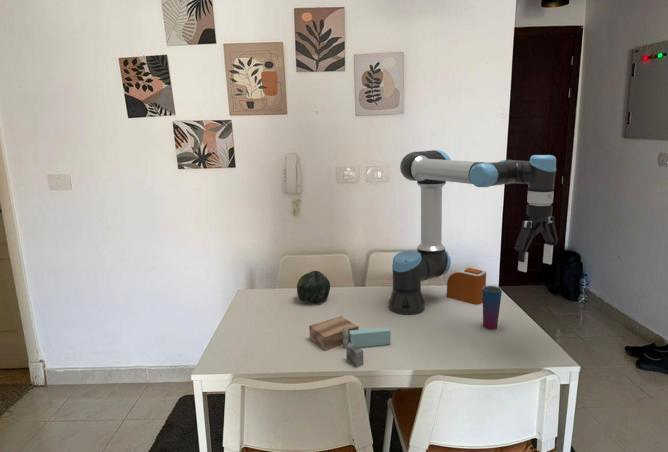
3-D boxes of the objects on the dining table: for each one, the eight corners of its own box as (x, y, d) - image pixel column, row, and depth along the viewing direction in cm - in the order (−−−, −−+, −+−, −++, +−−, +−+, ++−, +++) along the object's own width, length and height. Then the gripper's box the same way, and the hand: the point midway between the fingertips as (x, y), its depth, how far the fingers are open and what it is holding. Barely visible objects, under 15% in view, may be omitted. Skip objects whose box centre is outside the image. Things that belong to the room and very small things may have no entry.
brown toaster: (486, 299, 189) (488, 269, 186) (478, 305, 183) (479, 274, 180) (455, 291, 199) (456, 263, 196) (446, 297, 193) (447, 268, 190)
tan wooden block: (309, 338, 158) (309, 320, 156) (341, 328, 165) (341, 311, 164) (350, 369, 136) (350, 349, 135) (385, 356, 144) (385, 336, 142)
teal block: (351, 347, 150) (350, 334, 148) (349, 343, 152) (349, 330, 151) (390, 344, 151) (390, 330, 150) (388, 340, 154) (388, 327, 153)
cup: (501, 331, 159) (503, 292, 156) (481, 329, 160) (483, 291, 157) (498, 323, 166) (500, 286, 162) (479, 322, 167) (481, 285, 164)
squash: (296, 282, 202) (296, 265, 190) (328, 281, 203) (330, 264, 191) (297, 310, 193) (297, 294, 181) (330, 309, 195) (333, 293, 183)
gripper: (526, 210, 129) (521, 277, 134) (573, 201, 142) (567, 262, 147) (504, 206, 136) (501, 271, 140) (551, 198, 148) (546, 257, 153)
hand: (535, 267), depth 143 cm, fingers open, 13 cm apart
